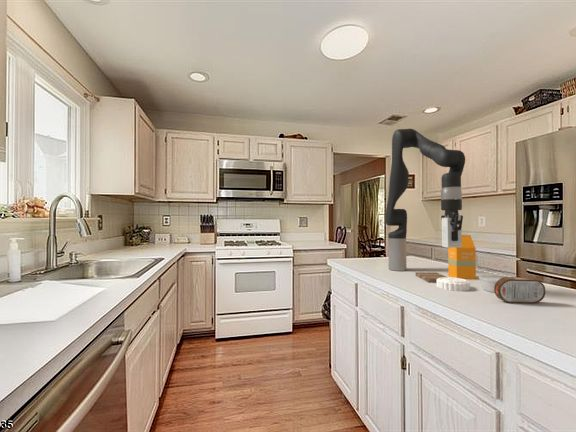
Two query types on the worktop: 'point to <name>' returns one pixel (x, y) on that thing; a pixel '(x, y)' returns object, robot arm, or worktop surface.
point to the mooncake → (453, 284)
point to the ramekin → (489, 282)
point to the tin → (519, 290)
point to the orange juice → (462, 260)
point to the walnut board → (429, 276)
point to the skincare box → (449, 235)
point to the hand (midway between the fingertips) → (451, 240)
